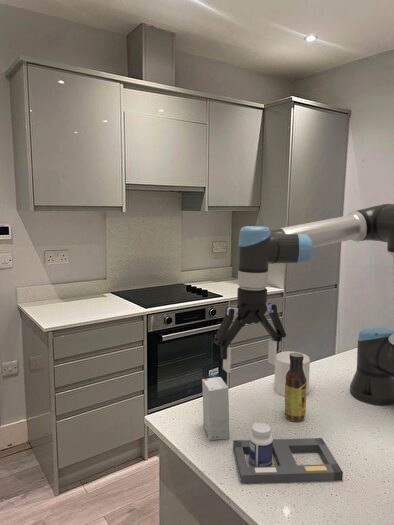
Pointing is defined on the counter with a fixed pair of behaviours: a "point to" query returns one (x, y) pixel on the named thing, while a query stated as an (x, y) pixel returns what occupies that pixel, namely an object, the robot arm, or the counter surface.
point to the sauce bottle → (295, 389)
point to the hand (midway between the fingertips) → (249, 367)
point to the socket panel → (288, 463)
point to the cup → (283, 368)
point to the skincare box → (215, 408)
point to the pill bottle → (261, 445)
